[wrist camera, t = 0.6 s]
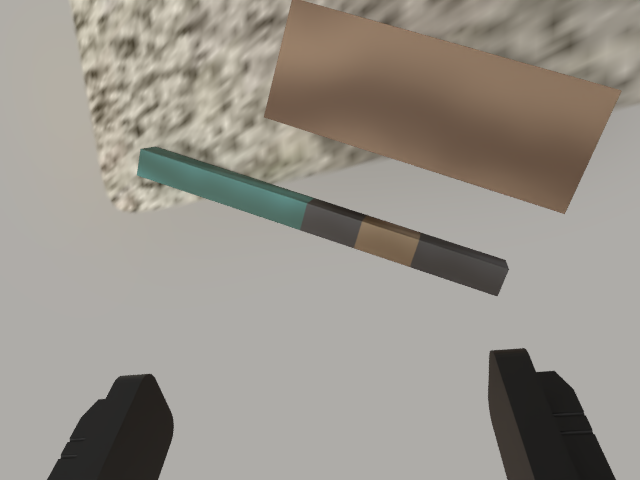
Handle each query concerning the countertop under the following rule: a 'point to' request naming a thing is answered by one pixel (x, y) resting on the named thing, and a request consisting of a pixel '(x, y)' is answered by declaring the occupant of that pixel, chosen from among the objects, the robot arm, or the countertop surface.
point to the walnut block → (438, 104)
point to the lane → (325, 220)
